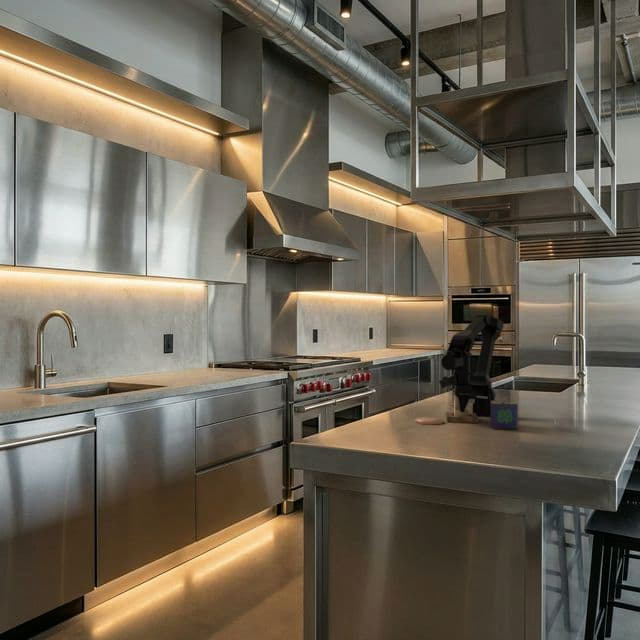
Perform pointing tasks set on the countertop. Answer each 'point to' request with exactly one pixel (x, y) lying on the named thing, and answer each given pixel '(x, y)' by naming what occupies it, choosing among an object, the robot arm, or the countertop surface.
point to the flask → (504, 415)
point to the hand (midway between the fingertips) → (461, 410)
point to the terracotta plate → (429, 421)
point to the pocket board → (461, 418)
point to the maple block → (457, 408)
